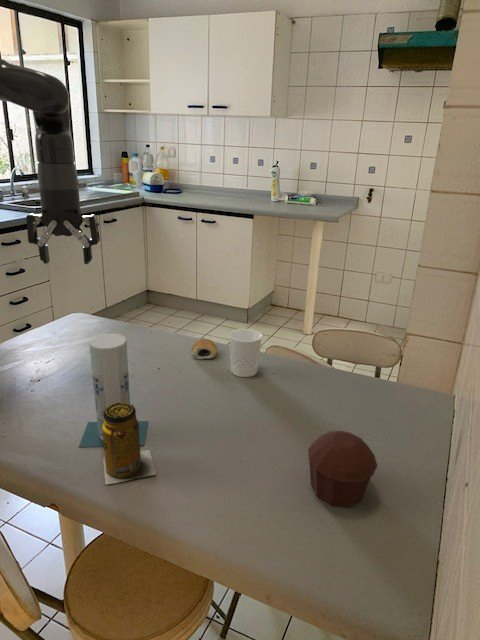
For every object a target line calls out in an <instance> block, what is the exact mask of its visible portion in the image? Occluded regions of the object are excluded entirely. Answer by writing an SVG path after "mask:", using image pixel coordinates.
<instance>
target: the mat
mask: <svg viewBox="0 0 480 640" xmlns="http://www.w3.org/2000/svg"><path fill="white" fill-rule="evenodd" d="M138 423H139V439H140V447H144V446H145V441H146V435H147V428H148V423H149V420H138ZM78 448H104V441H103V440H102V439H101V438H100V436H99V432H98V422H97V421H88V422H87V424H86V426H85V428H84V432H83V434H82V437H81V440H80V443H79V445H78Z"/></svg>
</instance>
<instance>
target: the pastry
mask: <svg viewBox="0 0 480 640" xmlns="http://www.w3.org/2000/svg"><path fill="white" fill-rule="evenodd" d="M217 354H218V347H217V345H216V344H215V342H214V341H213V340H211V339H209V338H205V337H204V338H202V337H201V338H200V339H197V340H196V341H195V342H194V343H193V345H192V346H191V357H192V358H193V359H194V360H210V359H214V358H216V356H217Z"/></svg>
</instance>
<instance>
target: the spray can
mask: <svg viewBox="0 0 480 640" xmlns="http://www.w3.org/2000/svg"><path fill="white" fill-rule="evenodd" d="M88 346H89V353H90V354H89V355H90V364H91V374H92V382H93V384H92V385H93V394H94V401H95V413H96V422H98V432H99V436H100V438H101V439H102V440H103V430H102V427H103V423H104V416H103V413H104V411H105V409H106V408H107V407H108V406H110V405H112V404H116V403H128V404H131V398H130V397H131V394H130V379H129V377H130V376H129V362H128V361H129V360H128V358H129V357H128V341H127V338H126V337H125V336H124V335H122V334H118V333H103V334H99V335H96V336H94V337H92V338H91V339H90V340H89V343H88Z"/></svg>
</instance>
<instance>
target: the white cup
mask: <svg viewBox="0 0 480 640" xmlns="http://www.w3.org/2000/svg"><path fill="white" fill-rule="evenodd" d="M262 338H263V334H262V333H261V332H260V331H258V330H256V329H251V328H237V329H234V330H232V331H231V332H230V333H229V361H230V372H231V373H232V375H234V376H237V377H239V378H251V377H253V376H256V374H257V373H258V371H259V362H260V356H261V346H262Z"/></svg>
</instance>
